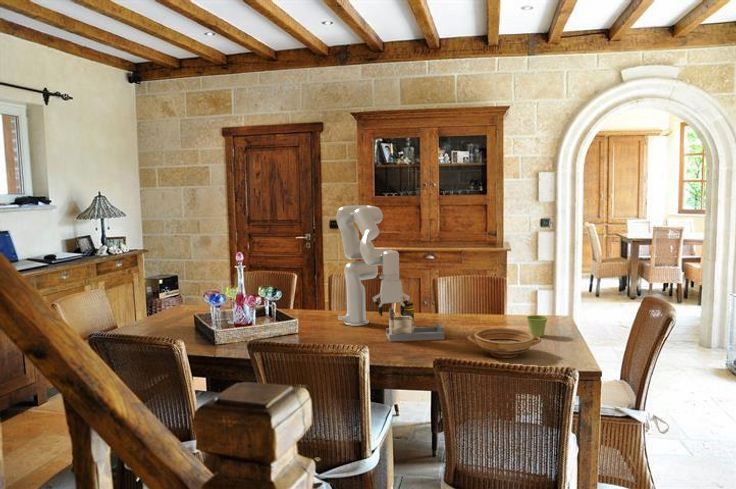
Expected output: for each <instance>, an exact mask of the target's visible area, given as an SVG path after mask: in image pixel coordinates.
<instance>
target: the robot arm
mask: <svg viewBox="0 0 736 489" xmlns="http://www.w3.org/2000/svg"><path fill="white" fill-rule="evenodd" d="M335 217H336V224H337V226H338V228H339V231H340V234H341V241H342V248H343V252H344V256H345V258H346V259H347V260H357V261H350V262H348V263H347V264H345V265H344V269H343V272H344V278H345V285H346V286H345V287H346V288H345V289H346V313H345V315H338V316H337V319H338V320H340V321H343V323H344V324H345V325H347V326H352V327H353V326H354V327H359V326H361V327H362V326H366V325H368V324H369V321H370V320H369V319H366V288H365V286H364V284H363V283H362V281H364V280H371V279H375V278H376V277H377V276H378V275H379V274H378V273H379V268H378V266H382V274H381V275H379V279H381V281H380V288H379V289H380V290H379V293H378V294H376V295H375V296H372V298H371V299H372V300H373V302H374V304H375V305H376V306H377V307H378V314H379V315H380V316H381V317H382V316H383V305H384V304H400V306H399V309H400V312H399V313H400V316H402V315H403V313H404V306H405V305H406V304H407V303H408V302H410V301H409V300H410V298H411V297H410V295H408V294H406V293H404V292H403V283H402V280H400V253H399V252H398V250H393V249H390V248H378V249H377V248H376V249H375V246H374V243H373V242H372V241H373V240H375V239H376V238H377V237H378V236H379V235H380V228H379V227H378V225H377V224H380V223H381V222H382V221H383V219H384V215H383V212H382V210H381V209H380V208H379V207H378V206H374V205H367V204H366V205H345V206H344V205H343V206H341V207H340V208H338V209H337V212H336V216H335ZM352 223H356V226H357V227H358V230H359V232H360V234H361V236H362V237H361V239H360V236H359V232H358V230H357V228H356V227H355V225H353V224H352ZM358 260H359V261H358ZM360 260H361V261H360ZM404 298H405V299H404ZM377 299H379V300H380V301H377Z"/></svg>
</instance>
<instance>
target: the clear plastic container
mask: <svg viewBox="0 0 736 489" xmlns="http://www.w3.org/2000/svg"><path fill="white" fill-rule="evenodd" d="M388 314H389V315H388V322H389V324H388V326H389V327H388V328H389V334H408V333H414V326H415V319H414V320H413V319H412V317H411V316H402V315H400V316H399V315H397V316H395V315H394V314H395V310H394V309H393V307H389V308H388Z"/></svg>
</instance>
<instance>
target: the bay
mask: <svg viewBox="0 0 736 489" xmlns="http://www.w3.org/2000/svg"><path fill="white" fill-rule="evenodd" d="M444 328H445V327H444V326H443V325H441V323H440V322H436V326H417V327H414V333H408V334H389V327H387V328H385V335H386V337H387V339H388V341H389V342H408V341H409V342H412V341H431V340H432V341H433V340H434V341H435V340H445V332H444V331H445V330H444Z"/></svg>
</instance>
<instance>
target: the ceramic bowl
mask: <svg viewBox="0 0 736 489" xmlns="http://www.w3.org/2000/svg"><path fill="white" fill-rule="evenodd" d="M467 339H468V341H470V342H471V343H473V344H475V345H478V346H479V348H481V349H482V350H484V351H486V352H488V353H489V354H490V355H492V356H493V357H497V358H503V359H509V358H511V359H512V358H515V357H517V356H518V355H519V354H522V353H524V352H526V351H528V350H530V348H531V347H534V346H535V345H538V344H541V342H542V337H535V336H534V335H533V334H531V333H530V332H529V331H526V330H522V329H518V328H517V329H516V328H509V327H493V328H492V327H490V328H483V329H479V330H477V331H475V332H474V334H473V335H472V334H471V335H470V334H469V335H468V336H467Z"/></svg>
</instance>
